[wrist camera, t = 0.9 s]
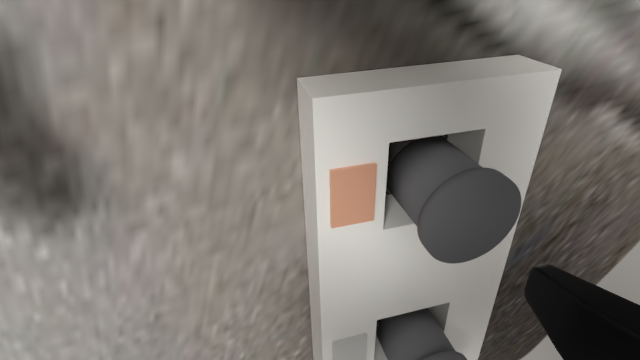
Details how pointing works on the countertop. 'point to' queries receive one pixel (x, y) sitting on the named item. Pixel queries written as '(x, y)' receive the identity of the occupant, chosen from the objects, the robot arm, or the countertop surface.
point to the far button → (415, 338)
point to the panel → (383, 210)
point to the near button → (453, 199)
